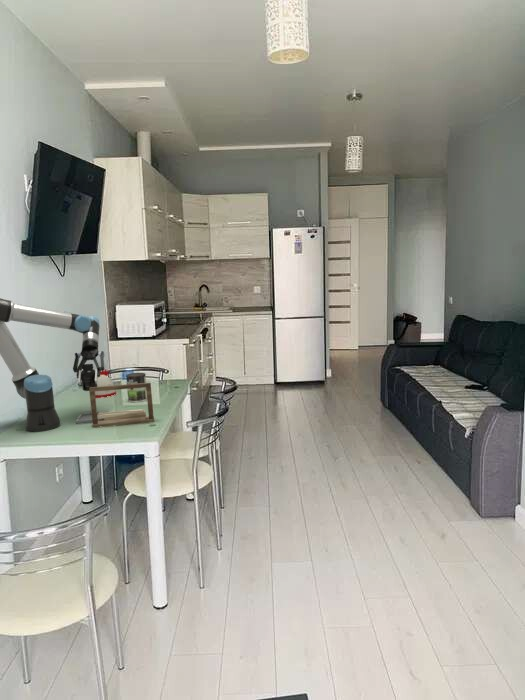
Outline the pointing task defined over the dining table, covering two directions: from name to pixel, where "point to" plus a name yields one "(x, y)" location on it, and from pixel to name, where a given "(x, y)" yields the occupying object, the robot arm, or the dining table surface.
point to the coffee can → (136, 393)
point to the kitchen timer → (104, 381)
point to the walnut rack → (116, 387)
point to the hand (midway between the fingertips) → (87, 382)
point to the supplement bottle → (88, 377)
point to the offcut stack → (121, 416)
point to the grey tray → (86, 418)
